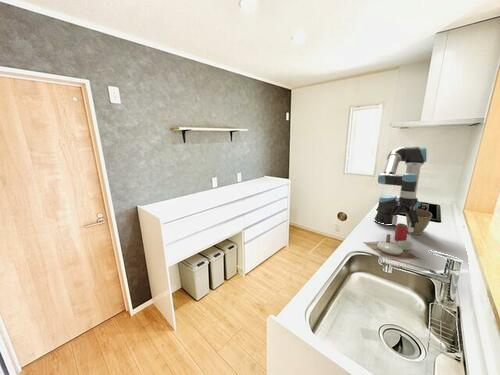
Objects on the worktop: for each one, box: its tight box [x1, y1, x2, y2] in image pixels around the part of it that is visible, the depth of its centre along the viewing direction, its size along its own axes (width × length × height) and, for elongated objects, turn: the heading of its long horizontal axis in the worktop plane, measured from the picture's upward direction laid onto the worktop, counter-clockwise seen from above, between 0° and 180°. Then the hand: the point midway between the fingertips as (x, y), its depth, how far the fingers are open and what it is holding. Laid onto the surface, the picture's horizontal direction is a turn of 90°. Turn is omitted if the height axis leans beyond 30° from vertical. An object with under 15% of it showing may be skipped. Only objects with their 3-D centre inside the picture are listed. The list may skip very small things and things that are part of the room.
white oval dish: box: [377, 240, 413, 255], centre depth 124 cm, size 20×13×5 cm, turn 94°
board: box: [362, 233, 421, 261], centre depth 123 cm, size 22×20×7 cm
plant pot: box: [405, 208, 433, 235], centre depth 151 cm, size 15×15×16 cm
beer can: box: [393, 222, 409, 242], centre depth 137 cm, size 7×7×12 cm
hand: (401, 228), depth 136 cm, fingers open, 13 cm apart
